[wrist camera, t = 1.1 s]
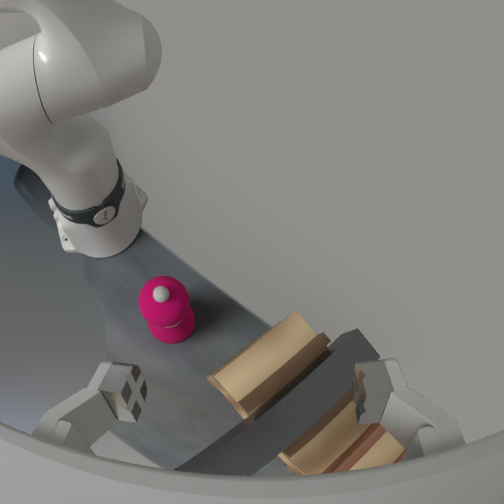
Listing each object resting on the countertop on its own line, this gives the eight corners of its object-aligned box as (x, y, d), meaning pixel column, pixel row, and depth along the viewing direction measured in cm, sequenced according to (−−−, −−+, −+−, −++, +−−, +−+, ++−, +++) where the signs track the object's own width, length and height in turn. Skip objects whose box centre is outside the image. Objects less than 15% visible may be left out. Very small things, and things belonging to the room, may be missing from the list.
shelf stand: (206, 377, 48) (215, 374, 23) (249, 344, 51) (301, 306, 26) (291, 471, 44) (372, 534, 19) (330, 437, 47) (435, 466, 22)
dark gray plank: (198, 497, 20) (199, 511, 17) (172, 470, 21) (170, 481, 18) (362, 360, 27) (380, 356, 24) (341, 334, 28) (357, 328, 25)
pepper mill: (195, 304, 52) (196, 261, 34) (194, 347, 50) (193, 328, 32) (152, 302, 51) (130, 257, 33) (150, 345, 49) (123, 323, 30)
